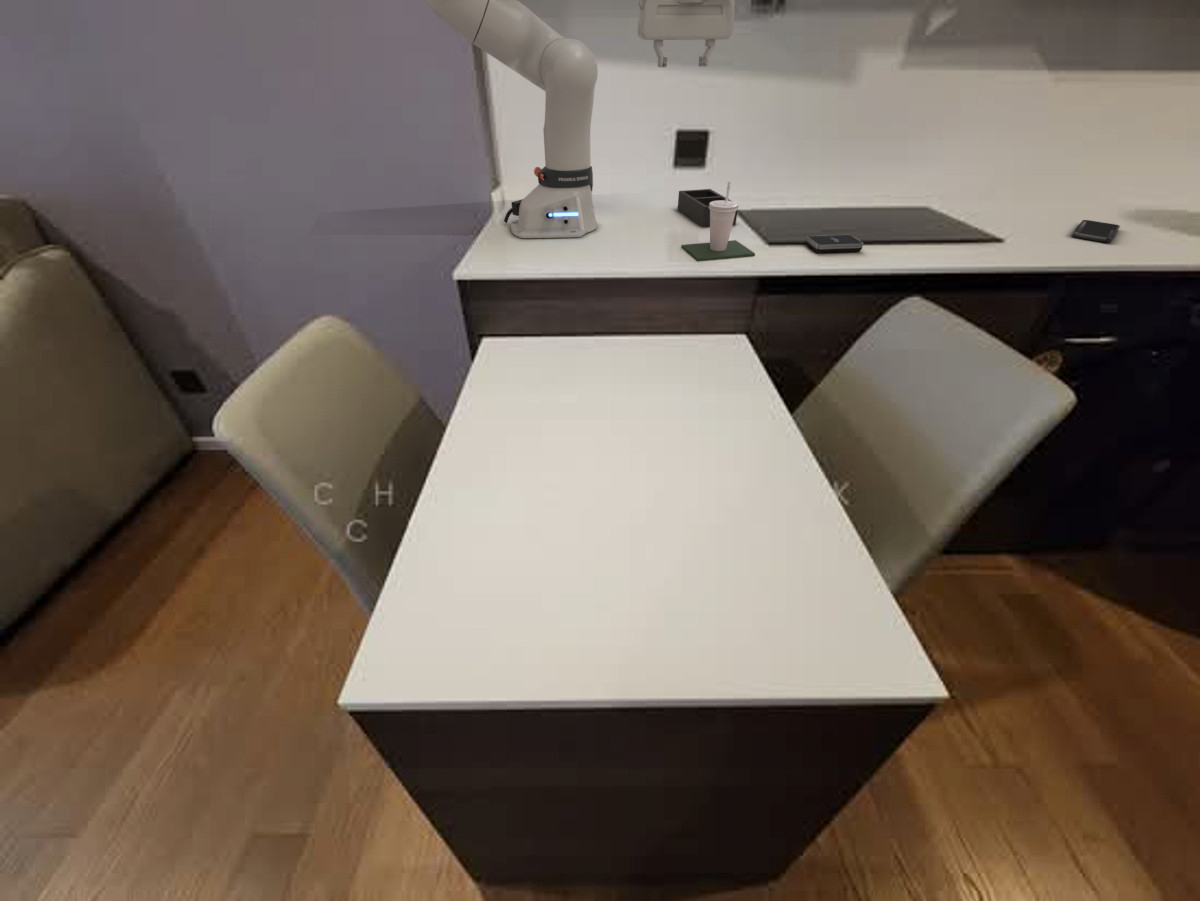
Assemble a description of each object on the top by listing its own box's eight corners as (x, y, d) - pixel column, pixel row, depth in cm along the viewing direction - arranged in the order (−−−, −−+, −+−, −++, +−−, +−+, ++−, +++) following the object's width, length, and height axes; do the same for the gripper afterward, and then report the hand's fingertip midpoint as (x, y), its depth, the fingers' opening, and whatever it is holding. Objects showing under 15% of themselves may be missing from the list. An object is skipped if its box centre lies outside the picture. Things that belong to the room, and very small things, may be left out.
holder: (735, 224, 139) (738, 204, 136) (702, 227, 137) (704, 207, 134) (708, 207, 153) (710, 188, 150) (677, 209, 151) (678, 190, 148)
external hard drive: (861, 252, 121) (864, 243, 120) (815, 254, 121) (817, 245, 119) (848, 243, 127) (850, 234, 126) (803, 244, 126) (805, 236, 125)
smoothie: (734, 252, 120) (744, 185, 111) (706, 252, 120) (714, 185, 111) (729, 244, 125) (738, 178, 116) (702, 244, 125) (709, 178, 116)
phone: (1073, 232, 129) (1083, 219, 137) (1070, 236, 130) (1081, 223, 138) (1113, 238, 125) (1121, 225, 133) (1110, 243, 125) (1118, 229, 134)
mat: (697, 261, 117) (697, 258, 117) (681, 247, 125) (681, 244, 124) (754, 255, 120) (755, 253, 119) (735, 242, 127) (735, 240, 127)
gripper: (644, -21, 101) (641, 68, 109) (742, -19, 105) (731, 66, 113) (634, -19, 105) (632, 67, 114) (728, -17, 109) (719, 65, 118)
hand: (682, 67), depth 114 cm, fingers open, 8 cm apart
